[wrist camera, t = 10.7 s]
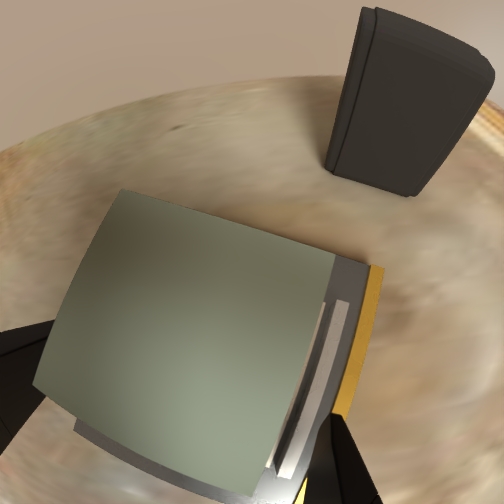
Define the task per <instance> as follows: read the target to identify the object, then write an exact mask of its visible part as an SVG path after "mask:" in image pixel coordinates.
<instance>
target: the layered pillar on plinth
mask: <svg viewBox="0 0 504 504" xmlns="http://www.w3.org/2000/svg"><path fill="white" fill-rule="evenodd" d="M335 256H336V254H333V253H330V252H327V251H324V250H321V249H318V248H315V247H312V246H309V245H306V244H302V243H299V242H296V241H293V240H290V239H287V238H284V237H281V236H277V235H274V234H271V233H268V232H265V231H262V230H258V229H255V228H252V227H249V226H246V225H242V224H239V223H236V222H233V221H229V220H226V219H223V218H220V217H216V216H213V215H210V214H206V213H203V212H200V211H196V210H193V209H190V208H186V207H183V206H180V205H176V204H173V203H170V202H166V201H163V200H159V199H156V198H152V197H149V196H146V195H142V194H139V193H135V192H132V191H128V190H125V189H121V191H120V193H119V194H118V196H117V198H116V199H115V201H114V203H113V204H112V206H111V208H110V210H109V211H108V213H107V215H106V216H105V218H104V220H103V222H102V224H101V225H100V227H99V229H98V231H97V233H96V234H95V236H94V238H93V240H92V242H91V244H90V246H89V248H88V250H87V252H86V254H85V256H84V257H83V259H82V262H81V264H80V266H79V268H78V270H77V272H76V274H75V276H74V278H73V280H72V282H71V285H70V287H69V289H68V291H67V293H66V296H65V298H64V300H63V302H62V305H61V307H60V310H59V312H58V314H57V317H56V319H55V322H54V324H53V327H52V329H51V332H50V334H49V337H48V340H47V342H46V345H45V348H44V351H43V354H42V356H41V359H40V362H39V365H38V368H37V371H36V374H35V378H34V381H33V384H32V385H33V386H35V387H36V388H37V389H38V390H40V391H41V392H42V393H43V394H45V395H46V396H47V397H49V398H50V399H51V400H53V401H54V402H55V403H57V404H58V405H60V406H61V407H62V408H64V409H65V410H67V411H68V412H69V413H71V414H72V415H74V416H75V417H77V418H78V419H80V420H81V421H83V422H84V423H86V424H87V425H89V426H91V427H92V428H94V429H95V430H97V431H99V432H100V433H102V434H104V435H105V436H107V437H109V438H111V439H112V440H114V441H116V442H118V443H119V444H121V445H123V446H125V447H127V448H129V449H130V450H132V451H134V452H136V453H138V454H140V455H142V456H144V457H146V458H148V459H150V460H152V461H154V462H157V463H159V464H161V465H163V466H165V467H168V468H170V469H172V470H174V471H177V472H179V473H182V474H184V475H186V476H189V477H191V478H194V479H197V480H199V481H202V482H205V483H207V484H210V485H213V486H216V487H219V488H222V489H225V490H228V491H231V492H234V493H238V494H241V495H244V496H248V497H251V498H252V496H253V493H254V491H255V489H256V487H257V485H258V482H259V480H260V478H261V475H262V473H263V471H264V468H265V466H266V464H267V461H268V459H269V457H270V454H271V452H272V449H273V447H274V444H275V442H276V439H277V437H278V434H279V432H280V429H281V427H282V424H283V421H284V419H285V416H286V413H287V411H288V408H289V405H290V402H291V400H292V397H293V394H294V391H295V389H296V386H297V383H298V380H299V377H300V374H301V371H302V368H303V365H304V362H305V359H306V356H307V353H308V350H309V347H310V344H311V340H312V337H313V334H314V331H315V327H316V324H317V321H318V318H319V314H320V311H321V307H322V304H323V300H324V297H325V293H326V290H327V286H328V282H329V279H330V275H331V271H332V267H333V264H334V260H335Z"/></svg>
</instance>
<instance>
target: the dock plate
mask: <svg viewBox="0 0 504 504" xmlns="http://www.w3.org/2000/svg"><path fill="white" fill-rule="evenodd" d="M383 274H384V268H382V267H379V266H376V265H373V264H371V265H370V266H369V265H366V264H363V263H360V262H357V261H354V260H351V259H348V258H345V257H342V256H339V255H336V256H335V260H334V264H333V267H332V271H331V275H330V279H329V282H328V286H327V290H326V293H325V297H324V300H323V304H322V307H321V311H320V314H319V318H318V321H317V324H316V327H315V331H314V334H313V337H312V340H311V344H310V347H309V350H308V353H307V356H306V359H305V362H304V365H303V368H302V371H301V374H300V377H299V380H298V383H297V386H296V389H295V391H294V394H293V397H292V400H291V402H290V405H289V408H288V411H287V413H286V416H285V419H284V421H283V424H282V427H281V429H280V432H279V434H278V437H277V439H276V442H275V444H274V447H273V449H272V452H271V454H270V457H269V459H268V461H267V464H266V466H265V468H264V471H263V473H262V475H261V478H260V480H259V482H258V485H257V487H256V489H255V491H254V493H253V496H252V498H251V497H248V496H244V495H241V494H238V493H234V492H231V491H228V490H225V489H222V488H219V487H216V486H213V485H210V484H207V483H205V482H202V481H199V480H197V479H194V478H191V477H189V476H186V475H184V474H182V473H179V472H177V471H174V470H172V469H170V468H168V467H165V466H163V465H161V464H159V463H157V462H154V461H152V460H150V459H148V458H146V457H144V456H142V455H140V454H138V453H136V452H134V451H132V450H130V449H129V448H127V447H125V446H123V445H121V444H119V443H118V442H116V441H114V440H112V439H111V438H109V437H107V436H105V435H104V434H102V433H100V432H99V431H97V430H95V429H94V428H92V427H91V426H89V425H87V424H86V423H84V422H83V421H81V420H80V419H78V418H77V420H76V423H75V426H74V431H75V432H77V433H78V434H80V435H81V436H83V437H84V438H86V439H87V440H89V441H90V442H92V443H94V444H95V445H97V446H99V447H100V448H102V449H104V450H105V451H107V452H109V453H110V454H112V455H114V456H116V457H118V458H119V459H121V460H123V461H125V462H127V463H129V464H131V465H132V466H134V467H136V468H138V469H140V470H142V471H144V472H147V473H149V474H151V475H153V476H155V477H157V478H159V479H162V480H164V481H166V482H168V483H171V484H173V485H175V486H178V487H180V488H183V489H185V490H188V491H190V492H193V493H196V494H198V495H201V496H204V497H207V498H210V499H213V500H216V501H219V502H222V503H225V504H303V499H304V493H305V487H306V480H307V474H308V468H309V464H310V460H311V457H312V453H313V449H314V445H315V441H316V437H317V433H318V430H319V427H320V425H321V424H322V423H323V421H324V420H325V418H326V417H327V415H328V414H329V413H336V414H340V415H342V416H343V418H344V421H345V420H346V418H347V415H348V412H349V409H350V406H351V403H352V400H353V396H354V393H355V390H356V387H357V383H358V380H359V377H360V373H361V370H362V366H363V363H364V359H365V355H366V351H367V348H368V344H369V340H370V336H371V331H372V327H373V323H374V319H375V314H376V309H377V305H378V300H379V295H380V290H381V285H382V279H383Z"/></svg>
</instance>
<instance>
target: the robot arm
mask: <svg viewBox="0 0 504 504" xmlns="http://www.w3.org/2000/svg"><path fill="white" fill-rule="evenodd" d="M54 322H55V320H51V321H46V322H42V323H38V324H34V325H29V326H25V327H21V328H16V329H12V330H7V331H3V332H2V333H1V332H0V455H1V454H2V453H3V451H4V450H5V449H6V447H7V446H8V445H9V443H10V442H11V441H12V439H13V438H14V436H15V435H16V434H17V433H18V431H19V430H20V429H21V427H22V426H23V425H24V424H25V422H26V421H27V420H28V418H29V417H30V416H31V415H32V413H33V412H34V411H35V410H36V408H37V407H38V406H39V405H40V403H41V402H42V401H43V400H44V399H45V397H46V395H45V394H43V393H42V392H41V391H40V390H38V389H37V388H36V387H35V386H33V385H32V384H33V381H34V378H35V374H36V371H37V368H38V365H39V362H40V359H41V356H42V354H43V351H44V348H45V345H46V342H47V340H48V337H49V334H50V332H51V329H52V327H53V324H54ZM377 494H378V492H377V489H376V487H375V485H374V483H373V481H372V479H371V476H370V474H369V472H368V470H367V468H366V466H365V463H364V461H363V459H362V457H361V455H360V453H359V451H358V448H357V446H356V444H355V442H354V440H353V438H352V436H351V433H350V431H349V429H348V427H347V425H346V423H345V421H344V418H343V416H342V415H340V414H336V413H329V414H328V415H327V417H326V418H325V420H324V421H323V423H322V424H321V425H320V427H319V430H318V433H317V437H316V441H315V445H314V449H313V453H312V457H311V460H310V464H309V468H308V474H307V480H306V487H305V493H304V499H303V504H383V502H382V500H381V498H380V496H379V495H377Z"/></svg>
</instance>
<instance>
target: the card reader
mask: <svg viewBox="0 0 504 504" xmlns="http://www.w3.org/2000/svg"><path fill="white" fill-rule="evenodd" d="M494 80H495V71H494V69H493V67H492V66H491V64H490V62H489V61H488V59H487V58H485V57H484V56H482V55H481V54H480V52H479V51H478V50H477V49H476V48H474V47H472V46H470V45H468V44H466V43H465V42H463V41H461V40H459V39H457V38H455V37H452V36H450V35H448V34H446V33H444V32H442V31H440V30H437V29H435V28H433V27H431V26H428V25H426V24H423V23H421V22H418V21H416V20H413V19H411V18H408V17H405V16H403V15H400V14H397V13H394V12H391V11H388V10H385V9H382V8H379V7H376V8H375V9H371V8H368V7H362V9H361V13H360V17H359V22H358V26H357V30H356V35H355V39H354V43H353V48H352V52H351V56H350V60H349V65H348V69H347V73H346V77H345V81H344V85H343V89H342V93H341V97H340V101H339V105H338V110H337V114H336V118H335V123H334V127H333V131H332V136H331V140H330V144H329V148H328V152H327V157H326V162H325V169H326V170H329V171H333V175H336V176H340V177H343V178H347V179H350V180H354V181H357V182H360V183H364V184H367V185H370V186H373V187H377V188H380V189H383V190H386V191H389V192H392V193H395V194H398V195H401V196H404V197H409V196H413V197H415V196H417V195H418V194H419V193H420V191H421V190H422V189H423V188H424V186H425V185H426V184H427V183H428V181H429V180H430V179H431V178H432V176H433V175H434V174H435V173H436V171H437V170H438V169H439V167H440V166H441V165H442V163H443V162H444V161H445V159H446V158H447V156H448V155H449V154H450V152H451V151H452V149H453V148H454V146H455V145H456V143H457V142H458V141H459V139H460V138H461V136H462V135H463V133H464V132H465V130H466V129H467V127H468V126H469V124H470V122H471V121H472V119H473V118H474V116H475V115H476V113H477V112H478V110H479V108H480V107H481V105H482V103H483V102H484V100H485V98H486V97H487V95H488V93H489V92H490V90H491V88H492V86H493V83H494Z"/></svg>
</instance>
